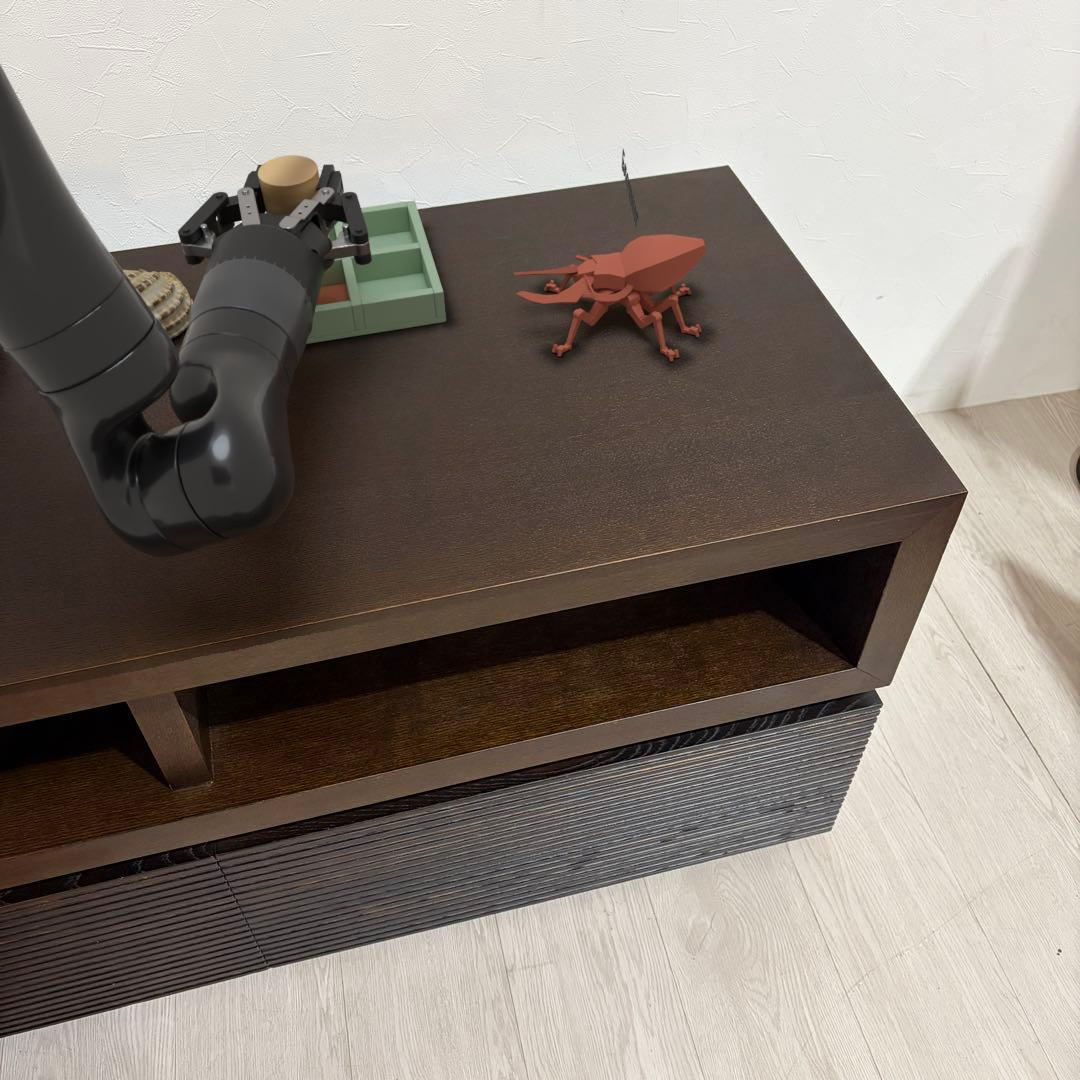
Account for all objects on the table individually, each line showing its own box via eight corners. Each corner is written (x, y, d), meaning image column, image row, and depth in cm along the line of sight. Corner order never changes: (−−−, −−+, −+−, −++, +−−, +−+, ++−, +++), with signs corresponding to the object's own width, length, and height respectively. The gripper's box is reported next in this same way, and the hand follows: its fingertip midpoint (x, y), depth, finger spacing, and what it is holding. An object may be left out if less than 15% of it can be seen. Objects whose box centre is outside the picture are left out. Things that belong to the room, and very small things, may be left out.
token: (269, 274, 86) (247, 181, 80) (291, 244, 89) (272, 151, 83) (321, 282, 85) (304, 188, 79) (342, 251, 88) (326, 158, 82)
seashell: (121, 328, 95) (60, 355, 85) (113, 257, 92) (50, 277, 83) (207, 334, 94) (156, 362, 85) (202, 263, 92) (148, 284, 82)
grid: (274, 349, 88) (267, 318, 86) (261, 252, 97) (254, 222, 95) (446, 321, 90) (443, 291, 88) (417, 229, 99) (414, 200, 97)
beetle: (685, 269, 95) (700, 131, 85) (710, 360, 86) (729, 218, 77) (512, 278, 94) (507, 140, 85) (520, 370, 86) (516, 229, 76)
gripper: (354, 260, 70) (385, 128, 81) (132, 260, 70) (194, 129, 82) (369, 354, 76) (396, 218, 87) (164, 353, 76) (217, 218, 87)
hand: (298, 175), depth 84 cm, fingers closed on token, 4 cm apart
